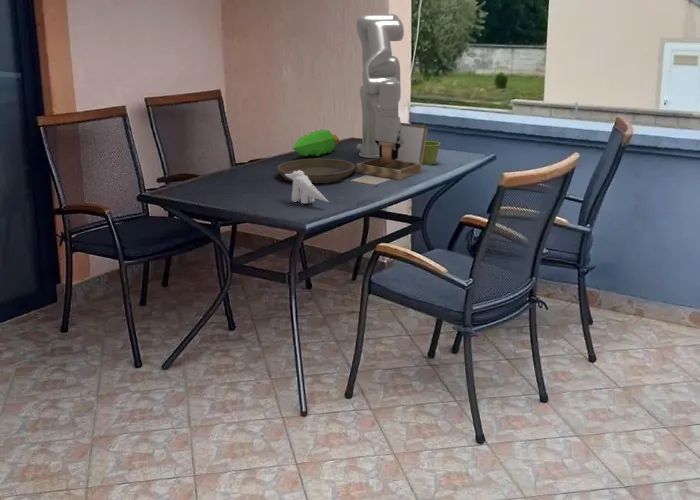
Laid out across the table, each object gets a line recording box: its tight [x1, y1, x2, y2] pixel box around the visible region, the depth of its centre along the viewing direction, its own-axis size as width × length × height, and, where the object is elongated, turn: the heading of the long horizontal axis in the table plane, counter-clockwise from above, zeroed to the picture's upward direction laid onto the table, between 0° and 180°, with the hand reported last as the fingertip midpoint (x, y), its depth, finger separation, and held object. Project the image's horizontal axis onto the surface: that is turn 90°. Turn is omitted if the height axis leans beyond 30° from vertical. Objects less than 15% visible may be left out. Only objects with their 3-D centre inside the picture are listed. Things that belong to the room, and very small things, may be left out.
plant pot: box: [420, 140, 441, 166], centre depth 366 cm, size 9×9×9 cm
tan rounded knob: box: [381, 142, 396, 163], centre depth 346 cm, size 6×6×8 cm
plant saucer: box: [276, 158, 356, 185], centre depth 348 cm, size 31×31×5 cm
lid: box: [396, 122, 429, 164], centre depth 352 cm, size 21×15×1 cm
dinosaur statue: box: [285, 170, 330, 204], centre depth 307 cm, size 7×24×11 cm, turn 43°
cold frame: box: [355, 157, 423, 181], centre depth 348 cm, size 21×15×4 cm
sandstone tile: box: [350, 174, 392, 188], centre depth 337 cm, size 12×10×1 cm
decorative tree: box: [292, 129, 340, 157], centre depth 383 cm, size 11×12×30 cm
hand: (388, 157), depth 347 cm, fingers closed on tan rounded knob, 5 cm apart
